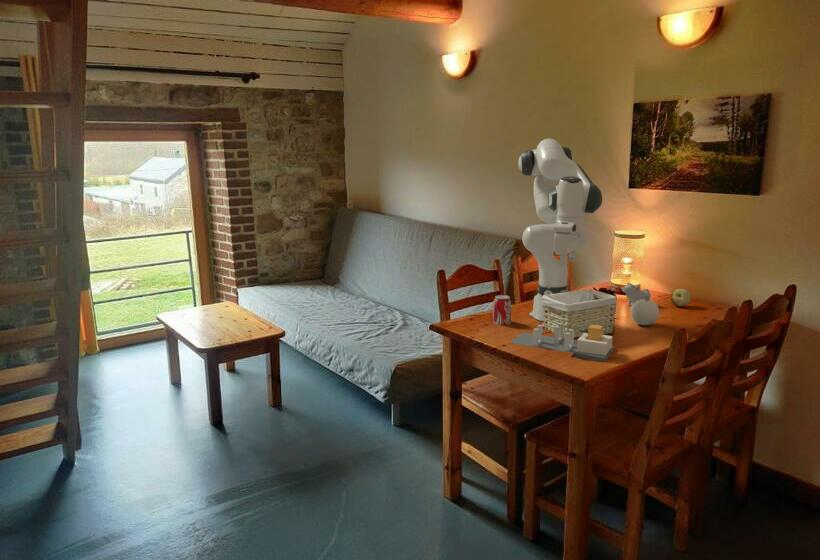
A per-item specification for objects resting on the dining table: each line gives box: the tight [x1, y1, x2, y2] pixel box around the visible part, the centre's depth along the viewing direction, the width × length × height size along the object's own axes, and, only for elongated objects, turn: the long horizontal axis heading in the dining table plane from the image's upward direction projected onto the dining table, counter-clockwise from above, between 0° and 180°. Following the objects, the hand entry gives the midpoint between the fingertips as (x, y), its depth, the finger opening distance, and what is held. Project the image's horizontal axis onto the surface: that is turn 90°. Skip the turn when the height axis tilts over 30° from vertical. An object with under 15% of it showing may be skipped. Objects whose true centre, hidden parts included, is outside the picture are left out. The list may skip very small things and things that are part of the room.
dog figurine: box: [621, 282, 652, 309], centre depth 264 cm, size 5×13×11 cm, turn 95°
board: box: [509, 323, 615, 363], centre depth 211 cm, size 14×33×8 cm, turn 60°
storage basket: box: [542, 288, 617, 338], centre depth 227 cm, size 24×16×15 cm
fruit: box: [670, 288, 692, 308], centre depth 263 cm, size 8×8×8 cm
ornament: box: [630, 295, 660, 327], centre depth 236 cm, size 10×10×12 cm
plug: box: [579, 324, 604, 341], centre depth 206 cm, size 4×7×8 cm, turn 60°
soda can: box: [492, 294, 512, 326], centre depth 238 cm, size 7×7×12 cm
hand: (567, 263), depth 211 cm, fingers open, 8 cm apart
